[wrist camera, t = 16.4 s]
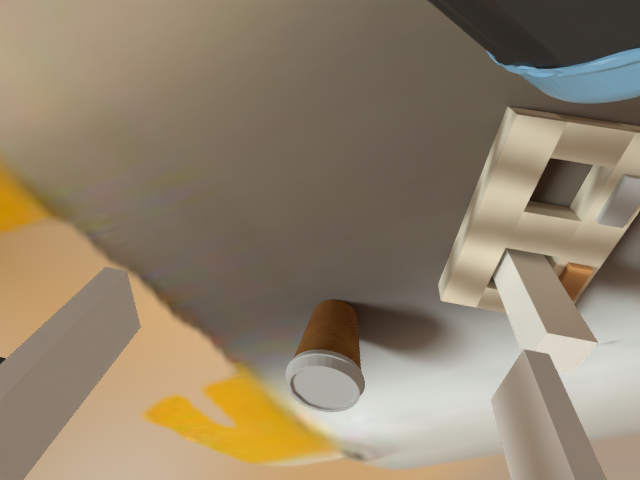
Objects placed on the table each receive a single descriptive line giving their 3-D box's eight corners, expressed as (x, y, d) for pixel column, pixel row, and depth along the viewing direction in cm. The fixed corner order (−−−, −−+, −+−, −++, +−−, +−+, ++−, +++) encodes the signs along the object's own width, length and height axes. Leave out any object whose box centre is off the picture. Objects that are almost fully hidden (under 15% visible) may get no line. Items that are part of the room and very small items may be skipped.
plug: (502, 240, 41) (547, 332, 29) (538, 246, 41) (598, 342, 29) (489, 267, 43) (525, 363, 32) (523, 273, 43) (573, 373, 31)
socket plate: (507, 106, 33) (519, 116, 30) (665, 130, 32) (695, 143, 29) (438, 284, 46) (441, 305, 42) (551, 305, 45) (563, 328, 42)
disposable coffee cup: (297, 290, 50) (275, 361, 40) (366, 290, 48) (360, 364, 38) (308, 338, 55) (290, 411, 45) (371, 340, 53) (366, 417, 43)
